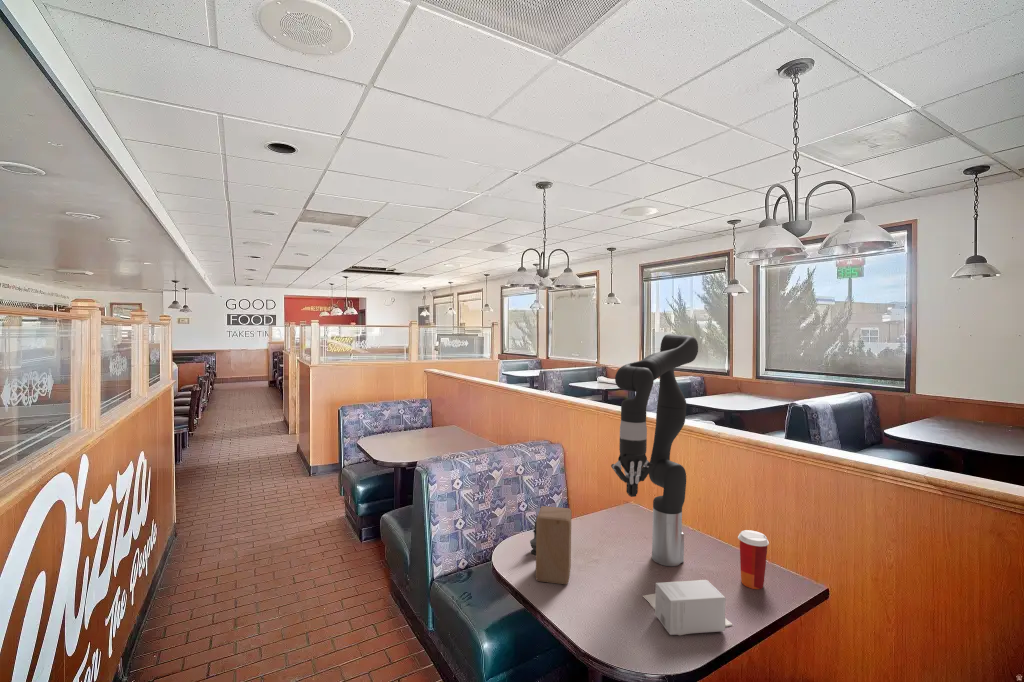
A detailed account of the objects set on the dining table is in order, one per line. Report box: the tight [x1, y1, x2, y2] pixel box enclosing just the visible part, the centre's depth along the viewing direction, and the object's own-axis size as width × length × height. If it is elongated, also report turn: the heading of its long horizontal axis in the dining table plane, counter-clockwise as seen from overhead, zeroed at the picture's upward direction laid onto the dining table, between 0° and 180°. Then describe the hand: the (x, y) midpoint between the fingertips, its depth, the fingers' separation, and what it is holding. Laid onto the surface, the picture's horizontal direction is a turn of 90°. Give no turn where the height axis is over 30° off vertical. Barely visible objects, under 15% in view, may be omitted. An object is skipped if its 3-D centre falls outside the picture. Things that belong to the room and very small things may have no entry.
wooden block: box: [535, 505, 573, 585], centre depth 143 cm, size 10×10×20 cm
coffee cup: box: [737, 529, 770, 590], centre depth 139 cm, size 8×8×15 cm
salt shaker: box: [529, 520, 537, 557], centre depth 157 cm, size 6×6×12 cm
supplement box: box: [654, 579, 727, 636], centre depth 120 cm, size 9×9×15 cm
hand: (631, 495), depth 132 cm, fingers closed
